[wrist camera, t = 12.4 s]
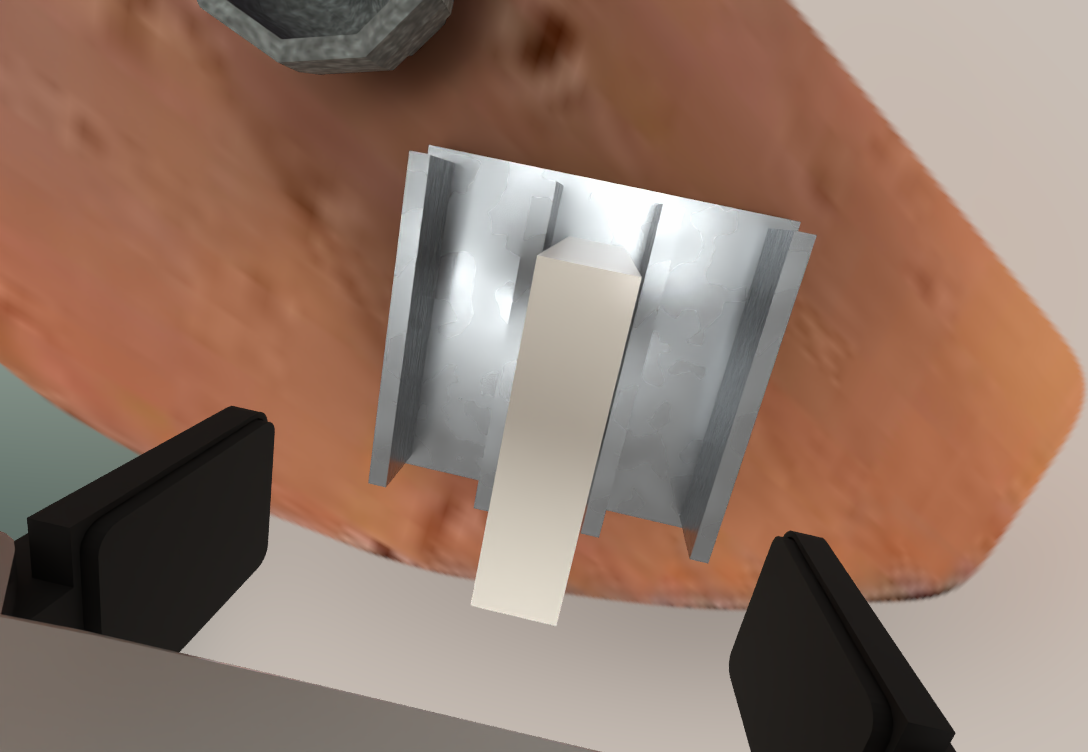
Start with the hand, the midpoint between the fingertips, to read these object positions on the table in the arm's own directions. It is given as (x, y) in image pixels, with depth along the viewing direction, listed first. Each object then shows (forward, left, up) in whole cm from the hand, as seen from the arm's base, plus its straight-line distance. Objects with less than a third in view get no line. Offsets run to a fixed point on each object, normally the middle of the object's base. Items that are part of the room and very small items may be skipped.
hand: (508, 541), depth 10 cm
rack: (0, 0, -18) cm, 18 cm away
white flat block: (0, 0, -17) cm, 17 cm away
